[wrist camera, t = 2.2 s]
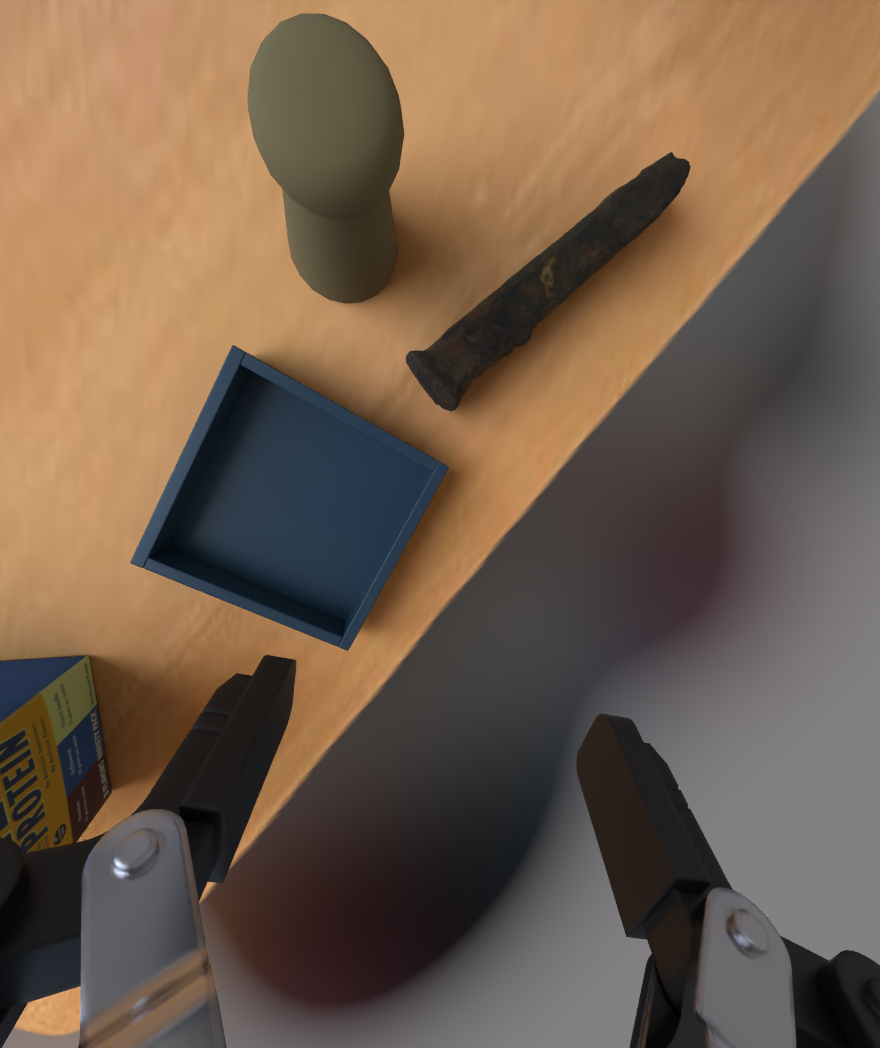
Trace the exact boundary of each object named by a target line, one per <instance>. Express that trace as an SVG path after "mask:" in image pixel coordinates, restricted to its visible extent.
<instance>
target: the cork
mask: <svg viewBox="0 0 880 1048" xmlns="http://www.w3.org/2000/svg"><path fill="white" fill-rule="evenodd" d="M248 110H249V116H250V121H251V126H252V131H253V136H254V139H255V142H256V144H257V147H258V149H259V151H260V154H261V156H262V158H263V160H264V162H265V164H266V166H267V168H268V170H269V172H270V174H271V176H272V177H273V178H274V179H275V180H276V181H277V183H278V184H279V185H280V186H281V187H282V190H283V199H284V208H285V217H286V226H287V235H288V242H289V247H290V252H291V258H292V260H293V262H294V264H295V266H296V268H297V270H298V272H299V274H300V276H301V277H302V278H303V279H304V280H305V281H306V283H307V284H308V285H309V286H310V287H311V288H312V289H313V290H314V291H316V292H318V293H319V294H321V295H322V296H324V297H326V298H327V299H330V300H334V301H338V302H342V303H353V302H362V301H364V300H366V299H368V298H370V297H373V296H375V295H376V294H377V293H378V292H379V291H380V290H381V289H382V288H383V287H384V286H385V285H386V284H387V283H388V281H389V279H390V277H391V275H392V273H393V271H394V268H395V261H396V255H397V247H396V239H395V231H394V224H393V216H392V208H391V201H390V193H389V189H390V187H391V185H392V183H393V181H394V179H395V177H396V175H397V173H398V171H399V166H400V159H401V152H402V146H403V139H404V128H403V120H402V112H401V105H400V100H399V95H398V92H397V90H396V87H395V85H394V82H393V80H392V77H391V74H390V72H389V69H388V67H387V66H386V65H385V63H384V62H383V60H382V59H381V58H380V56H379V55H378V53H377V52H376V51H375V49H374V48H373V46H372V45H371V44H370V43H369V41H368V40H367V39H366V38H365V37H363V36H362V35H361V34H360V33H358V32H357V31H356V30H355V29H353V28H352V27H351V26H350V25H349V24H347V23H346V22H343V21H341V20H338V19H335V18H333V17H330V16H328V15H325V14H299V15H297V16H294V17H292V18H289V19H287V20H284V21H282V22H280V23H279V24H278V25H277V26H276V27H275V28H274V29H273V30H272V32H271V33H270V34H269V35H268V36H267V37H266V38H265V39H264V40H263V42H262V43H261V45H260V47H259V49H258V52H257V54H256V56H255V59H254V61H253V63H252V66H251V68H250V78H249V89H248Z"/></svg>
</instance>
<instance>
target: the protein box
mask: <svg viewBox="0 0 880 1048" xmlns="http://www.w3.org/2000/svg"><path fill="white" fill-rule="evenodd" d="M111 792H112V791H111V786H110V780H109V776H108V769H107V763H106V757H105V752H104V744H103V738H102V731H101V725H100V720H99V713H98V707H97V701H96V696H95V689H94V683H93V677H92V671H91V665H90V659H89V657H88V656H75V657H60V658H45V659H28V660H13V661H0V838H7V839H9V840H12V841H14V842H15V843H16V844H17V845H19V847H20V849H21V851H22V853H28V852H33V851H38V850H43V849H48V848H53V847H57V846H62V845H67V844H72V843H76V842H77V841H78V839H79V838H80V837H81V835H82V834H83V832H84V831H85V829H86V828H87V827H88V825H89V824H90V822H91V821H92V820H93V818H94V817H95V815H96V814H97V813H98V811H99V810H100V808H101V807H102V806H103V804H104V803H105V801H106V800H107V798H108V797H109V796H110V794H111Z"/></svg>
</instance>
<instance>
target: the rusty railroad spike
mask: <svg viewBox="0 0 880 1048" xmlns="http://www.w3.org/2000/svg"><path fill="white" fill-rule="evenodd" d="M689 171H690V165H689V162H688V161H687V160H685V159H679V158H676V157H675V156H674V155H673V153H672V152H671V153H669V154H667V155H666V156H664V157H663V158H661V159H659V160H658V161H656V162H655V163H653V164H652V165H650V166H648V167H647V168H645V169H643V170H642V171H641V172H640V174H639V175H638V176H637V177H636V178H634V179H633V180H631V181H629V182H628V183H627V184H625V185H623V186H621V187H620V188H618V189H616V190H615V191H614V192H612V193H611V194H610V195H609V196H607V197H606V198H605V199H604V200H603V201H602V203H601V204H600V205H599V206H598V207H597V208H596V209H595V210H593V211H592V212H591V213H589V214H588V215H587V216H586V217H584V218H583V219H582V220H581V221H580V222H578V223H577V224H576V225H575V226H574V227H573V228H571V229H570V230H569V231H568V232H566V233H565V234H564V235H563V236H562V237H561V238H560V239H559V240H557V241H556V242H554V243H553V244H552V245H550V246H549V247H548V248H547V249H546V250H544V251H543V252H542V253H541V254H539V255H538V256H536V257H535V258H534V259H533V260H531V261H530V262H529V263H528V264H527V265H525V266H524V267H523V268H522V269H521V270H520V271H519V272H517V273H516V274H515V275H513V276H512V277H511V278H510V279H508V280H507V281H506V282H505V283H504V284H503V285H502V286H501V287H500V288H498V289H497V290H496V291H495V292H493V293H492V294H491V295H490V296H488V297H487V298H486V299H484V300H483V301H482V302H481V303H479V304H478V305H477V306H476V307H475V308H474V309H473V310H472V311H471V312H469V313H468V314H467V315H465V316H464V317H463V318H462V319H460V320H459V321H458V322H457V323H456V324H454V325H453V326H452V327H450V328H449V329H448V330H447V331H446V332H445V333H444V334H443V335H442V337H441V338H439V339H438V340H437V341H436V342H435V343H434V344H433V345H432V346H430V347H429V348H428V349H426V350H425V351H410V352H409V353H408V354H407V356H406V363H407V364H408V365H409V367H410V369H411V371H412V373H413V374H414V375H415V377H416V378H417V380H418V381H419V383H420V384H421V386H422V387H423V388H424V390H425V391H426V392H427V393H428V395H429V396H430V397H431V398H432V399H433V401H434V402H435V404H437V405H440V406H441V407H442V408H444V409H447V410H449V411H454V410H455V409H456V408H457V407H458V405H459V403H460V400H461V398H462V396H463V395H464V394H465V392H466V390H467V389H468V388H469V386H470V384H471V383H472V381H473V380H474V379H476V378H477V377H479V376H480V375H481V374H482V373H483V372H484V371H486V370H487V369H489V368H490V367H492V366H493V365H495V364H497V363H498V362H499V361H500V360H501V359H502V358H503V357H506V356H508V355H509V354H510V353H511V352H512V351H513V350H514V349H515V348H517V347H519V346H522V345H524V344H526V342H527V341H528V340H529V339H530V338H531V335H532V332H533V330H534V329H535V327H536V326H537V325H538V324H539V322H540V321H541V320H543V319H544V318H545V317H546V316H547V315H548V314H550V313H551V312H552V311H553V310H554V309H555V308H556V307H557V306H559V305H560V304H561V303H562V302H563V301H564V300H566V299H567V298H568V297H569V296H570V295H571V294H572V293H573V292H574V291H575V290H576V289H577V288H578V287H579V286H581V285H582V284H583V283H584V282H585V281H586V280H587V279H588V278H589V277H590V276H592V275H593V274H594V273H595V272H596V271H597V270H599V269H600V268H602V267H603V266H604V265H605V264H606V263H608V262H609V261H610V260H611V259H612V258H613V257H614V255H615V254H616V253H617V252H618V251H619V250H621V249H622V248H623V247H625V246H626V245H628V244H629V243H630V242H631V241H633V240H634V239H636V238H637V237H638V236H639V235H640V234H641V233H642V232H643V231H644V230H645V229H646V228H647V227H648V226H649V225H651V224H652V223H653V222H654V221H655V220H656V219H657V218H658V217H659V216H660V215H661V213H662V212H663V210H664V209H665V208H666V207H667V206H668V205H669V204H670V203H671V202H672V201H673V200H674V199H675V198H676V196H677V195H678V194H679V192H680V191H681V188H682V187H683V185H684V184H685V181H686V179H687V177H688V174H689Z"/></svg>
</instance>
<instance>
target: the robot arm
mask: <svg viewBox="0 0 880 1048" xmlns="http://www.w3.org/2000/svg"><path fill="white" fill-rule="evenodd" d="M295 674H296V660H293V659H287V658H281V657H275V656H270V655H265V656H264V657H263V659H262V660H261V662H260V664H259V665H258V667H257V669H256V671H255V672H254V674H253V676H250V675H244V674H238V673H237V674H235V675H234V676H233V677H231V678H230V679H229V680H228V681H226V682H225V683H224V684H223V685H221V686H220V687H219V688H217V690H216V691H215V693H214V694H213V696H212V697H211V699H210V700H209V702H208V704H207V705H206V707H205V708H204V711H203V713H201V714H200V716H199V717H198V719H197V721H196V722H195V724H194V725H193V728H192V730H190V731H189V733H188V734H187V736H186V738H185V739H184V741H183V742H182V744H181V745H180V747H179V748H178V750H177V751H176V753H175V755H174V756H173V758H172V759H171V761H170V762H169V764H168V765H167V767H166V768H165V770H164V772H163V773H162V775H161V776H160V778H159V779H158V781H157V782H156V784H155V785H154V787H153V789H152V790H151V792H150V793H149V795H148V796H147V798H146V799H145V800H144V802H143V803H142V804H141V805H140V807H139V808H138V809H137V810H136V811H135V812H134V813H133V814H132V815H131V816H129V817H128V818H126V819H124V820H123V821H121V822H119V823H118V824H116V825H115V826H114V827H113V828H111V829H110V830H109V831H107V832H105V833H103V834H101V835H99V836H97V837H94V838H92V839H89V840H85V841H81V842H77V843H72V844H67V845H62V846H57V847H53V848H48V849H43V850H38V851H33V852H28V853H22V851H21V849H20V847H19V845H17V844H16V843H15V842H14V841H12V840H9V839H7V838H0V1048H2V1046H3V1044H4V1043H5V1041H6V1039H7V1038H8V1036H9V1034H10V1033H11V1031H12V1029H13V1027H14V1026H15V1024H16V1022H17V1020H18V1019H19V1017H20V1015H21V1014H22V1012H23V1010H24V1008H25V1007H26V1005H27V1003H28V1002H30V1001H34V1000H37V999H40V998H43V997H47V996H50V995H53V994H56V993H59V992H63V991H66V990H69V989H72V988H76V987H79V986H81V1004H80V1040H79V1047H78V1048H226V1042H225V1036H224V1030H223V1025H222V1019H221V1013H220V1007H219V1002H218V996H217V990H216V986H215V981H214V975H213V971H212V967H211V964H210V961H209V958H208V952H207V947H206V941H205V935H204V930H203V924H202V918H201V912H200V906H199V900H200V898H201V896H202V893H203V891H204V889H205V886H206V884H207V882H216V883H223V882H224V879H225V877H226V874H227V872H228V870H229V867H230V865H231V862H232V860H233V857H234V855H235V852H236V850H237V847H238V845H239V842H240V840H241V838H242V835H243V833H244V830H245V828H246V825H247V823H248V820H249V818H250V815H251V813H252V810H253V808H254V806H255V803H256V801H257V798H258V796H259V793H260V791H261V788H262V786H263V783H264V781H265V778H266V776H267V774H268V771H269V769H270V766H271V764H272V761H273V759H274V756H275V754H276V751H277V749H278V746H279V744H280V742H281V739H282V737H283V734H284V732H285V729H286V726H287V724H288V720H289V717H290V713H291V709H292V704H293V695H294V684H295ZM576 765H577V774H578V778H579V781H580V785H581V788H582V791H583V795H584V798H585V801H586V805H587V808H588V811H589V814H590V818H591V821H592V825H593V828H594V831H595V834H596V838H597V841H598V844H599V848H600V851H601V854H602V857H603V861H604V864H605V867H606V871H607V874H608V877H609V881H610V884H611V887H612V890H613V894H614V897H615V900H616V904H617V907H618V910H619V914H620V917H621V920H622V924H623V927H624V930H625V934H626V937H632V938H639V939H647V940H648V943H649V946H650V949H651V952H652V954H651V955H650V957H649V959H648V961H647V964H646V969H645V974H644V979H643V984H642V989H641V993H640V998H639V1003H638V1008H637V1014H636V1018H635V1023H634V1028H633V1033H632V1038H631V1043H630V1048H880V965H878V964H877V963H876V962H874V961H873V960H871V959H870V958H868V957H866V956H864V955H862V954H860V953H858V952H854V951H849V950H845V951H842V952H840V953H839V954H838V955H836V956H835V957H834V958H832V959H831V960H830V961H828V960H827V959H824V958H823V957H821V956H819V955H817V954H815V953H813V952H811V951H809V950H807V949H805V948H803V947H801V946H799V945H797V944H795V943H793V942H791V941H789V940H788V939H785V938H783V937H782V936H780V935H779V933H778V932H777V930H776V929H775V927H774V926H773V924H772V923H771V922H770V920H769V919H768V918H767V917H766V916H765V914H764V913H763V912H762V911H761V910H760V909H759V908H758V907H757V906H756V905H755V904H754V903H752V902H751V901H750V900H749V899H747V898H746V897H744V896H743V895H741V894H740V893H738V892H736V891H734V890H733V889H732V888H731V886H730V884H729V882H728V881H727V879H726V877H725V875H724V873H723V871H722V869H721V867H720V865H719V863H718V861H717V859H716V857H715V855H714V854H713V852H712V850H711V848H710V846H709V844H708V842H707V840H706V838H705V836H704V834H703V832H702V830H701V829H700V827H699V825H698V823H697V821H696V819H695V817H694V815H693V813H692V811H691V810H690V809H688V804H687V802H686V800H685V798H684V796H683V794H682V792H681V790H679V789H678V784H677V782H676V780H675V778H674V777H673V775H672V773H671V771H670V769H669V767H668V765H667V763H666V762H665V761H664V760H663V759H662V758H661V756H660V755H659V754H658V753H657V752H656V750H655V749H654V748H653V747H652V746H651V745H650V744H649V743H644V742H643V740H642V738H641V736H640V734H639V732H638V730H637V728H636V726H635V724H634V723H633V721H632V720H631V719H628V718H623V717H618V716H612V715H607V714H599V715H598V716H597V717H596V719H595V720H594V722H593V724H592V726H591V728H590V730H589V732H588V734H587V735H586V737H585V739H584V741H583V743H582V745H581V747H580V749H579V751H578V754H577V764H576Z"/></svg>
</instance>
